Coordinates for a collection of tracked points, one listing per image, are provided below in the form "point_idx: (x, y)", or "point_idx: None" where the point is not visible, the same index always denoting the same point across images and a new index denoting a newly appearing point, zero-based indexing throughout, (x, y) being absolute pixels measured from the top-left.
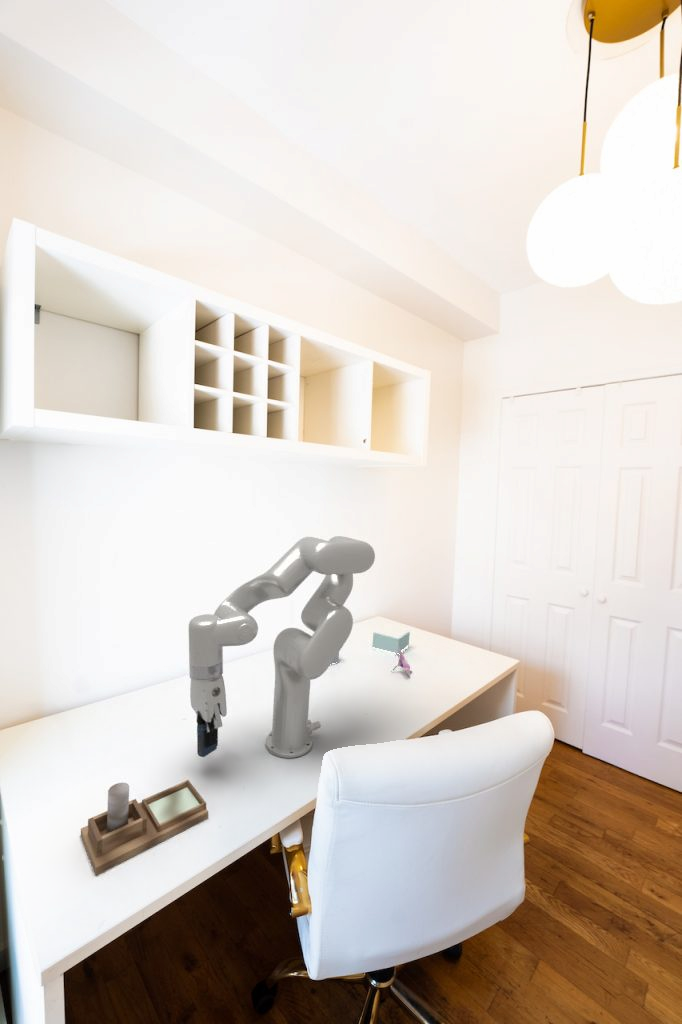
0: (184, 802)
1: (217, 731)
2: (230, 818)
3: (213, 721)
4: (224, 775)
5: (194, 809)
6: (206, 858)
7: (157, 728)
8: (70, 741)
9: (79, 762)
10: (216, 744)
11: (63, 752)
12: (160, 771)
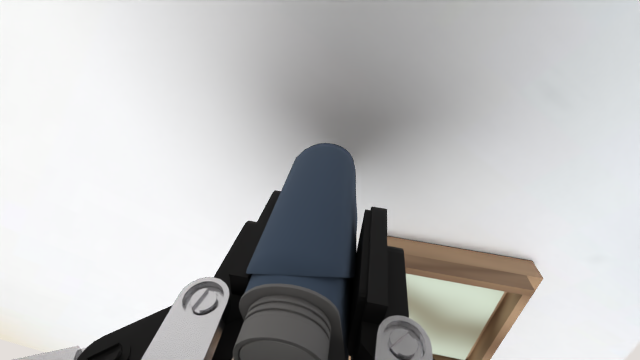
0: (445, 296)
1: (386, 269)
2: (609, 224)
3: (328, 345)
4: (415, 109)
5: (515, 316)
6: (633, 329)
7: (3, 130)
8: (25, 291)
9: (114, 311)
10: (354, 174)
11: (66, 312)
12: None
